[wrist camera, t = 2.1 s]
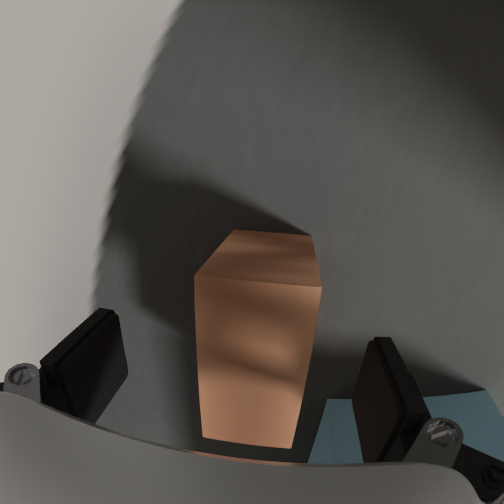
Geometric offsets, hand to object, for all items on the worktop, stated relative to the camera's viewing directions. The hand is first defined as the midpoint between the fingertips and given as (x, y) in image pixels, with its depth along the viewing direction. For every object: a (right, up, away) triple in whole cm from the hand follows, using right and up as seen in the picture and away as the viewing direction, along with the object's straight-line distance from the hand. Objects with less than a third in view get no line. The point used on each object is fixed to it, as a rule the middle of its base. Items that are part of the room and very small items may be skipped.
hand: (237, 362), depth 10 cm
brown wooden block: (+1, +1, +4) cm, 5 cm away
